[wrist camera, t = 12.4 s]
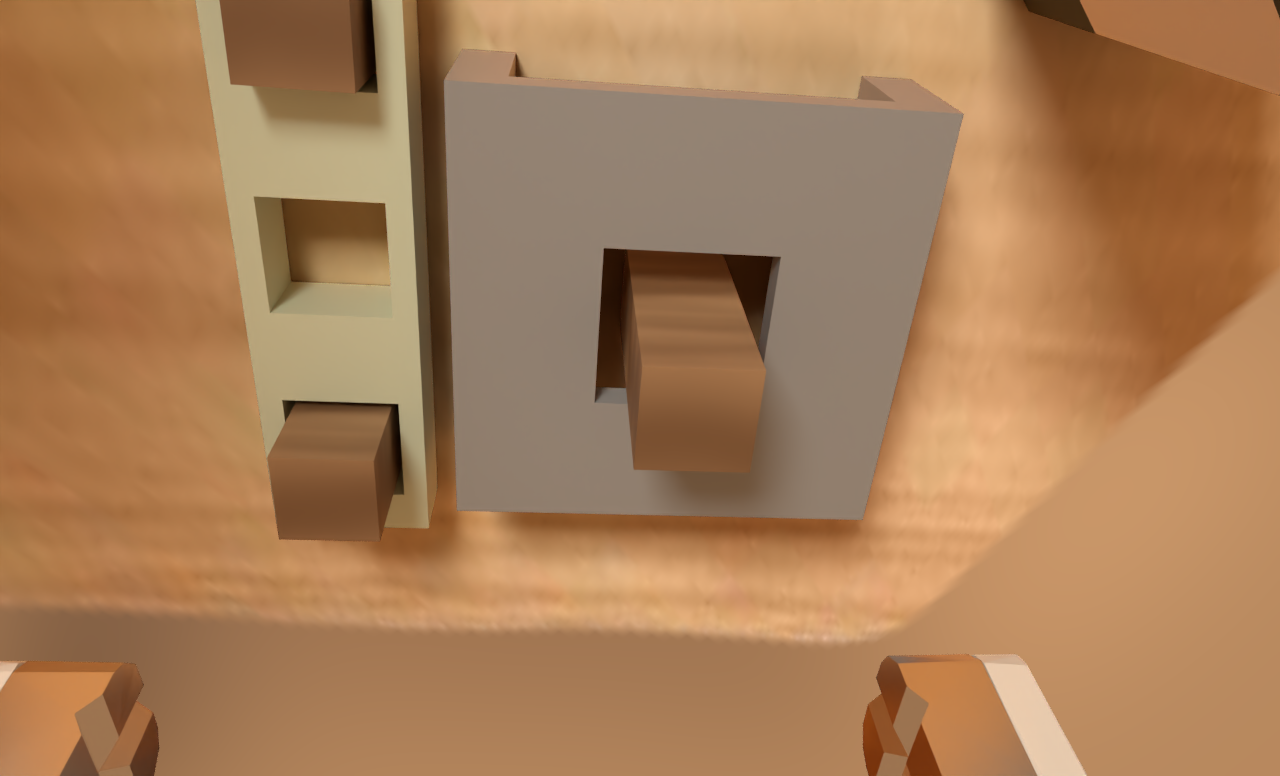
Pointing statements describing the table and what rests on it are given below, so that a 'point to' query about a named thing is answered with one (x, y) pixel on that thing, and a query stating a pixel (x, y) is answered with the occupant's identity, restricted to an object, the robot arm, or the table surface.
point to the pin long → (688, 364)
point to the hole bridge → (680, 222)
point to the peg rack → (330, 312)
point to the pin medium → (335, 470)
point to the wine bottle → (1187, 32)
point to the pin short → (299, 43)
